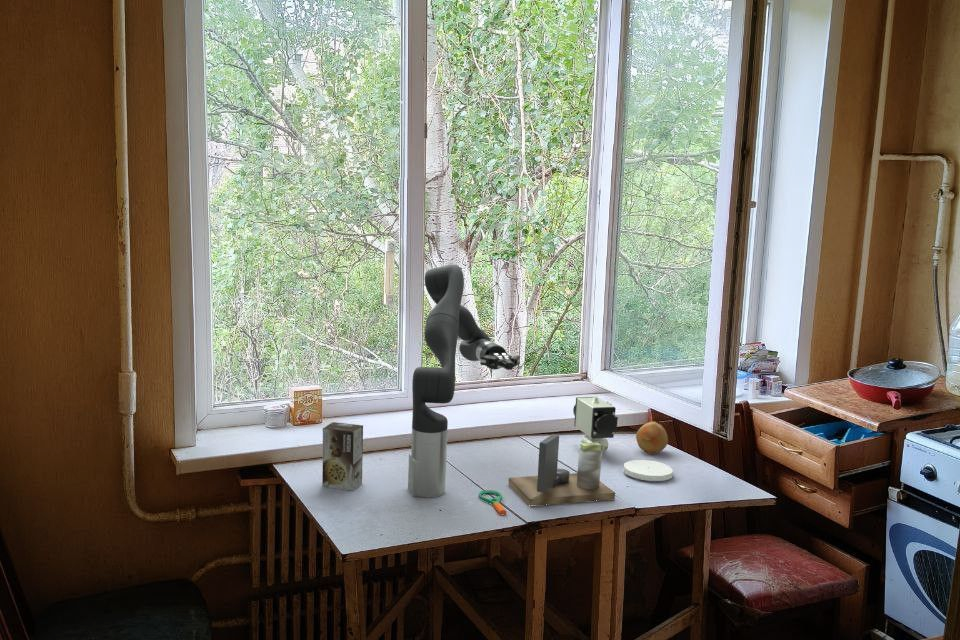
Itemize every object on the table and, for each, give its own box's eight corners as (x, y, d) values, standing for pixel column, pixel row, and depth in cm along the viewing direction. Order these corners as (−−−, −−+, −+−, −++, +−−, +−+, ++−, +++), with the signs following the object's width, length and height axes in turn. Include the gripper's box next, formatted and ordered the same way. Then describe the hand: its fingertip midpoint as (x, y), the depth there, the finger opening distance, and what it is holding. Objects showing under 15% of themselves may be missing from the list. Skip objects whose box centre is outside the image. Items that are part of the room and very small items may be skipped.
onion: (632, 447, 252) (634, 417, 251) (663, 449, 252) (666, 419, 251) (637, 456, 243) (639, 425, 241) (669, 458, 242) (672, 427, 241)
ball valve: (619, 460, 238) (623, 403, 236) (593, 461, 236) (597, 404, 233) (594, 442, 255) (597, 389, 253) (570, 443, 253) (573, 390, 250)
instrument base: (529, 506, 198) (532, 454, 196) (508, 484, 213) (510, 436, 211) (614, 499, 205) (618, 450, 203) (588, 479, 220) (591, 432, 218)
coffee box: (363, 483, 208) (364, 425, 206) (352, 491, 202) (354, 431, 200) (332, 478, 211) (333, 421, 209) (320, 486, 205) (321, 427, 202)
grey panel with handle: (548, 497, 198) (552, 444, 196) (530, 493, 200) (533, 441, 198) (571, 479, 213) (575, 429, 211) (554, 475, 215) (557, 426, 213)
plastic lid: (645, 465, 236) (646, 457, 235) (682, 479, 225) (683, 470, 224) (613, 472, 228) (613, 464, 227) (649, 487, 216) (650, 479, 216)
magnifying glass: (475, 495, 205) (476, 488, 205) (497, 494, 207) (498, 487, 206) (490, 517, 191) (491, 510, 190) (514, 516, 192) (514, 509, 192)
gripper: (471, 342, 236) (488, 353, 220) (511, 342, 241) (532, 353, 224) (469, 367, 238) (487, 379, 221) (510, 366, 242) (531, 378, 225)
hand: (510, 366), depth 223 cm, fingers closed
